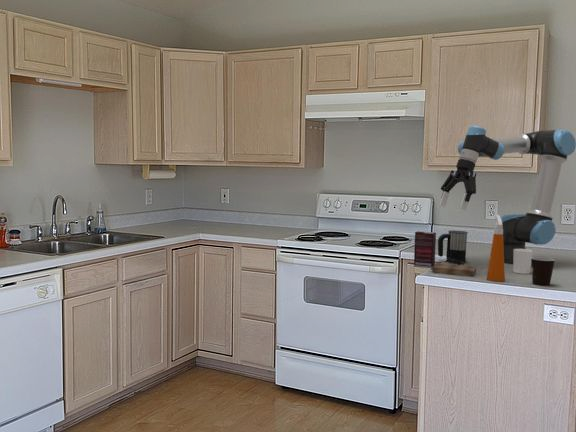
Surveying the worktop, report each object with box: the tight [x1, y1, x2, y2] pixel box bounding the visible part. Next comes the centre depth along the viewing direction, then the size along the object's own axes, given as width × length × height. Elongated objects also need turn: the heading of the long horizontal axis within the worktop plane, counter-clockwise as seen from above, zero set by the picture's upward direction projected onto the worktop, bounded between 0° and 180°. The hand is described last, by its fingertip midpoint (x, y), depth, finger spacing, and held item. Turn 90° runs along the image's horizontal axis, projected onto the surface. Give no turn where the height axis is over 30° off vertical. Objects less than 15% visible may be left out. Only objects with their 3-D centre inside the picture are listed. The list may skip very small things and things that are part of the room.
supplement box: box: [413, 230, 437, 269], centre depth 270 cm, size 9×5×16 cm, turn 62°
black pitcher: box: [437, 230, 469, 265], centre depth 283 cm, size 14×16×15 cm
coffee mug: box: [531, 256, 555, 287], centre depth 239 cm, size 12×9×10 cm
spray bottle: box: [486, 214, 506, 282], centre depth 245 cm, size 7×11×26 cm, turn 171°
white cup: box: [512, 248, 534, 275], centre depth 263 cm, size 8×8×10 cm
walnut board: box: [431, 262, 477, 278], centre depth 259 cm, size 17×12×2 cm
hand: (452, 207), depth 259 cm, fingers open, 13 cm apart
